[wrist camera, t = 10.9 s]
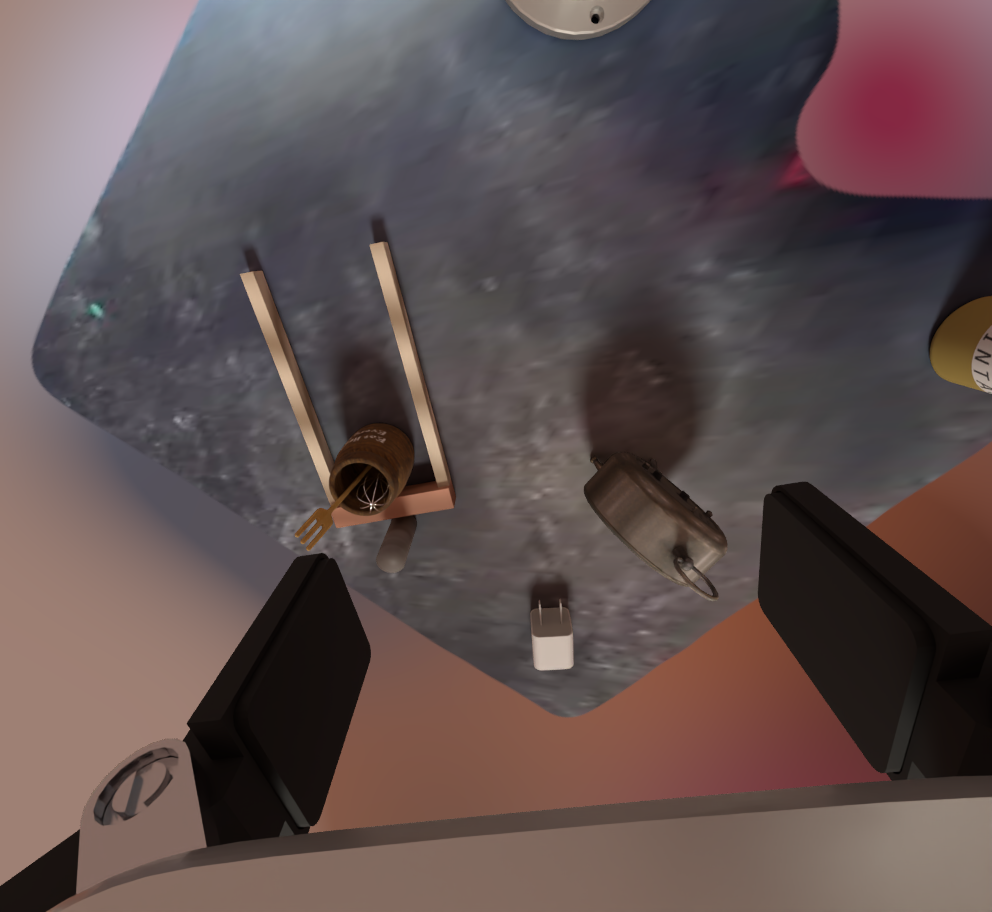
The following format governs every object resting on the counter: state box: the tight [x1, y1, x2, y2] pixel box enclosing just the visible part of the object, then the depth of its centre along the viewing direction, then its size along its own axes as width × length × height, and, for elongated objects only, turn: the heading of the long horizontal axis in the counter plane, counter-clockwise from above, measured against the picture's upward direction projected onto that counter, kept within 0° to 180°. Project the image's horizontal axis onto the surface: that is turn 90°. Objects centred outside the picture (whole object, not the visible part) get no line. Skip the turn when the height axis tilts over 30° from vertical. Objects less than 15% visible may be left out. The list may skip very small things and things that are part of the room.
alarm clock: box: [584, 452, 727, 601], centre depth 35 cm, size 11×5×16 cm, turn 52°
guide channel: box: [240, 242, 456, 573], centre depth 37 cm, size 25×11×6 cm, turn 11°
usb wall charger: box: [530, 599, 573, 670], centre depth 47 cm, size 4×7×4 cm, turn 5°
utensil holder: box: [295, 423, 414, 551], centre depth 36 cm, size 6×6×12 cm
